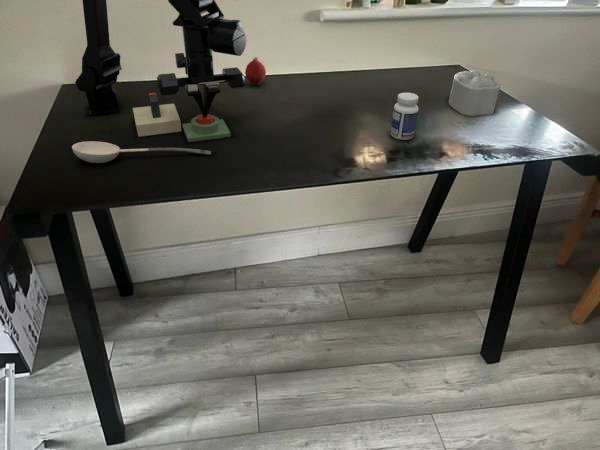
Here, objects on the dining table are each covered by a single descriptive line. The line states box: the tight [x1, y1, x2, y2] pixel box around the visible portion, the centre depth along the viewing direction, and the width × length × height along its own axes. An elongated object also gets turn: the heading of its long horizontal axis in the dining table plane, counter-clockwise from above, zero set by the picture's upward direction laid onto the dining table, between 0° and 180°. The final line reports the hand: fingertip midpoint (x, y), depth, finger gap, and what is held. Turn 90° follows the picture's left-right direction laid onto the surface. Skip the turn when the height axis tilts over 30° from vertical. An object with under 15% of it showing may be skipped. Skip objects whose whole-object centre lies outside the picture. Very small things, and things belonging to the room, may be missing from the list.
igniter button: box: [196, 113, 213, 125], centre depth 115 cm, size 4×4×2 cm
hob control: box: [132, 103, 183, 138], centre depth 118 cm, size 10×10×3 cm
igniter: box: [181, 114, 232, 143], centre depth 116 cm, size 10×8×3 cm
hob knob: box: [147, 92, 161, 118], centre depth 116 cm, size 5×2×4 cm, turn 19°
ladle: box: [71, 140, 212, 164], centre depth 105 cm, size 6×28×5 cm, turn 101°
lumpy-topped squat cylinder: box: [448, 69, 501, 117], centre depth 132 cm, size 10×13×9 cm
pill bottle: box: [389, 92, 419, 141], centre depth 115 cm, size 6×6×10 cm
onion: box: [244, 56, 267, 86], centre depth 139 cm, size 6×6×8 cm
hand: (204, 116), depth 114 cm, fingers closed, pressing on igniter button
